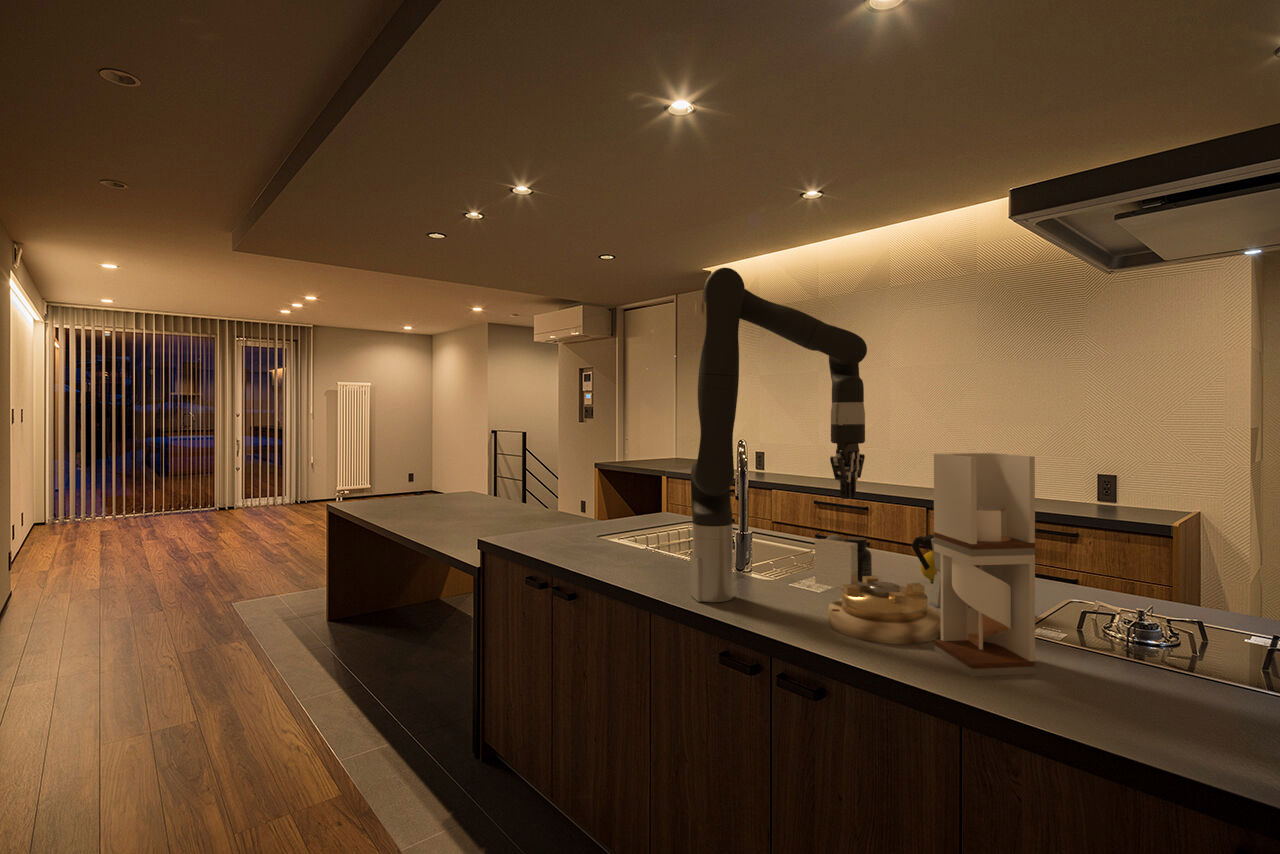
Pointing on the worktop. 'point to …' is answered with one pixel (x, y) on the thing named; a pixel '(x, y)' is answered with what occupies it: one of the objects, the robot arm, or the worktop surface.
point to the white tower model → (986, 561)
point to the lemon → (930, 571)
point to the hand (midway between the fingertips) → (848, 497)
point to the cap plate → (885, 627)
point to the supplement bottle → (862, 557)
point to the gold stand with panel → (866, 586)
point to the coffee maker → (929, 544)
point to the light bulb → (835, 538)
